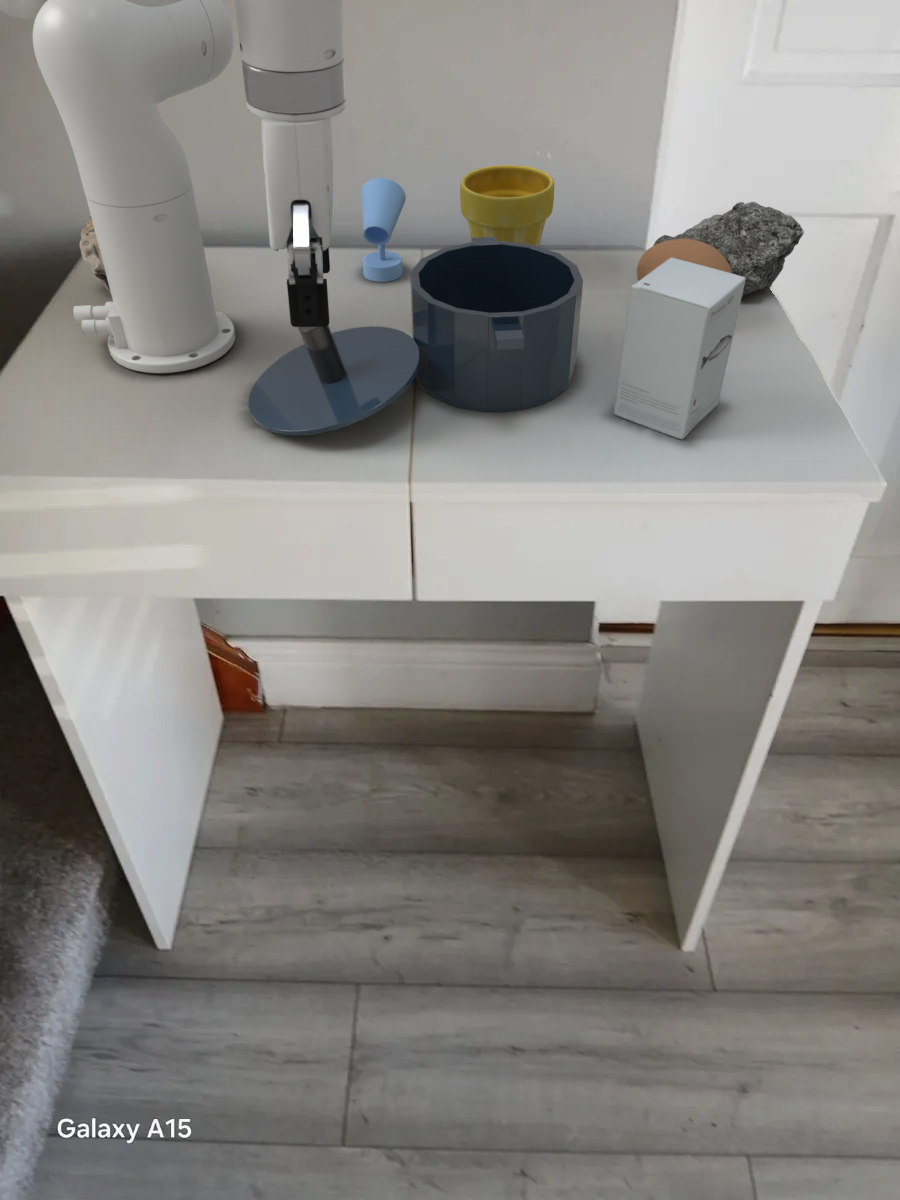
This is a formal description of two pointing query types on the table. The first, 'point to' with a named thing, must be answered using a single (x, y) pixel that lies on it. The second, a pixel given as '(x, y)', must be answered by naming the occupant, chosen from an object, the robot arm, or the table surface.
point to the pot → (495, 324)
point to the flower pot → (507, 202)
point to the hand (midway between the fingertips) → (311, 297)
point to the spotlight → (381, 227)
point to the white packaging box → (677, 345)
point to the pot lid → (334, 379)
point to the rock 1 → (93, 252)
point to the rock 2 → (749, 241)
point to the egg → (681, 255)
